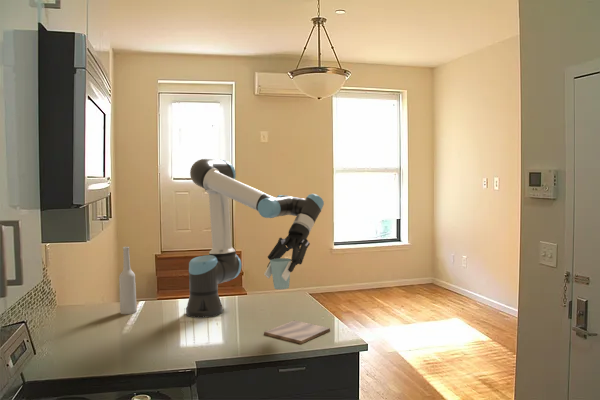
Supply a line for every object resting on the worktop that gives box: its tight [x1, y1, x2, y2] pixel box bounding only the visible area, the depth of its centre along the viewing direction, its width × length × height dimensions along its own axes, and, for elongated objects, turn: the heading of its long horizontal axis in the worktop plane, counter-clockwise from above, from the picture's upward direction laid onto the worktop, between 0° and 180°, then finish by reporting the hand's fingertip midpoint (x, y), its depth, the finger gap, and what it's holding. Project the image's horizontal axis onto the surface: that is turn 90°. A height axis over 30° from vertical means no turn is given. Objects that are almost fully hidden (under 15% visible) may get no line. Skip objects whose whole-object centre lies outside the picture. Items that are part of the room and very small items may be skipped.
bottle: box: [118, 246, 138, 315], centre depth 210 cm, size 7×7×28 cm
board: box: [263, 320, 331, 345], centre depth 179 cm, size 17×17×1 cm
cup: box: [269, 257, 292, 290], centre depth 181 cm, size 8×8×10 cm
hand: (275, 277), depth 179 cm, fingers closed on cup, 8 cm apart
